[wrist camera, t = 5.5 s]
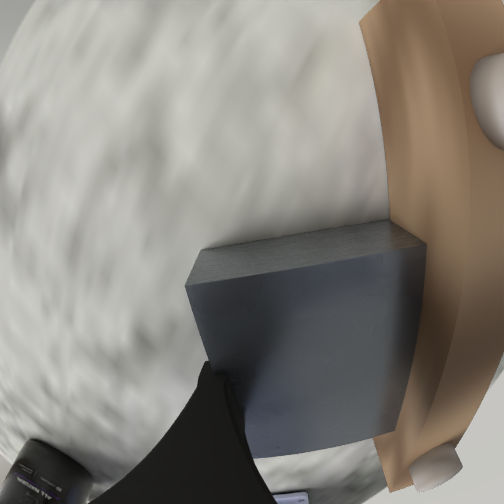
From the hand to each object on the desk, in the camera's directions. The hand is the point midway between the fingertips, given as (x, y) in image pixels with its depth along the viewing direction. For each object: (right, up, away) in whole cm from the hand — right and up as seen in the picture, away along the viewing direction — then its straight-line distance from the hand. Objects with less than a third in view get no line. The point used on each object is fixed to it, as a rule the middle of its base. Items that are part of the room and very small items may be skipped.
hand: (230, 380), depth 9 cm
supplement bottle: (-16, -13, +7) cm, 22 cm away
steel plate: (+3, +1, +1) cm, 3 cm away
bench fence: (+7, +3, 0) cm, 7 cm away
